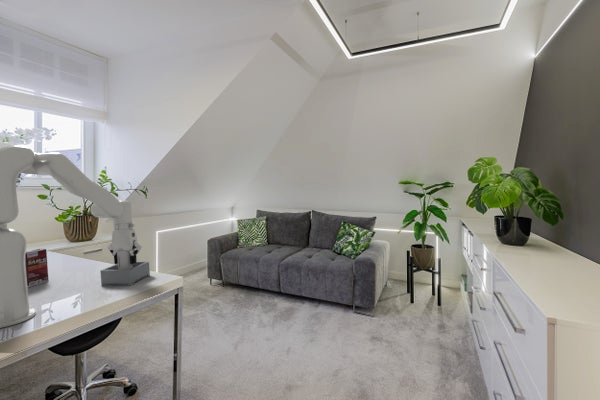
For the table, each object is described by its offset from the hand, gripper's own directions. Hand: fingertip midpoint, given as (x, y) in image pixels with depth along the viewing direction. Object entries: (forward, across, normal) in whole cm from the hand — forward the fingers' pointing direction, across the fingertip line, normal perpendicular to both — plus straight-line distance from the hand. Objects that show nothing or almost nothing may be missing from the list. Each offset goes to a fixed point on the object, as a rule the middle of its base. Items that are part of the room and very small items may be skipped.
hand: (125, 263), depth 132 cm
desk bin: (+8, 0, 0) cm, 8 cm away
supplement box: (+9, +41, +6) cm, 42 cm away
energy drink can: (+7, 0, 0) cm, 7 cm away
